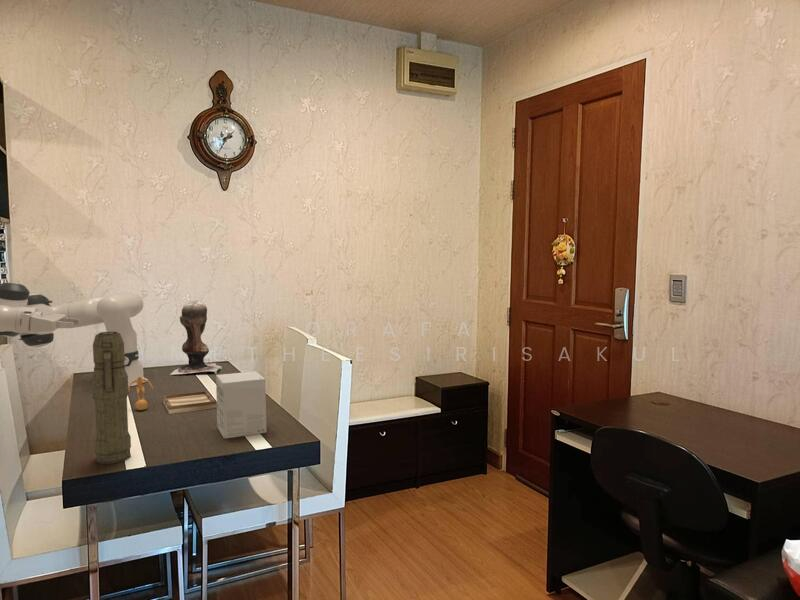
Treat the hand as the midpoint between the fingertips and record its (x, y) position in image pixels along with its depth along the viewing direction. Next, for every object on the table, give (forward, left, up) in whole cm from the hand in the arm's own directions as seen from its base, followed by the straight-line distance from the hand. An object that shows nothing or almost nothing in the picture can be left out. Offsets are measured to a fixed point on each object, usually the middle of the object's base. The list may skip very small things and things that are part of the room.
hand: (76, 323), depth 196 cm
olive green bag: (+53, +8, -32) cm, 62 cm away
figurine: (+4, +19, -32) cm, 38 cm away
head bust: (-58, +49, -32) cm, 83 cm away
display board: (+6, +35, -32) cm, 48 cm away
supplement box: (+45, +45, -32) cm, 71 cm away
